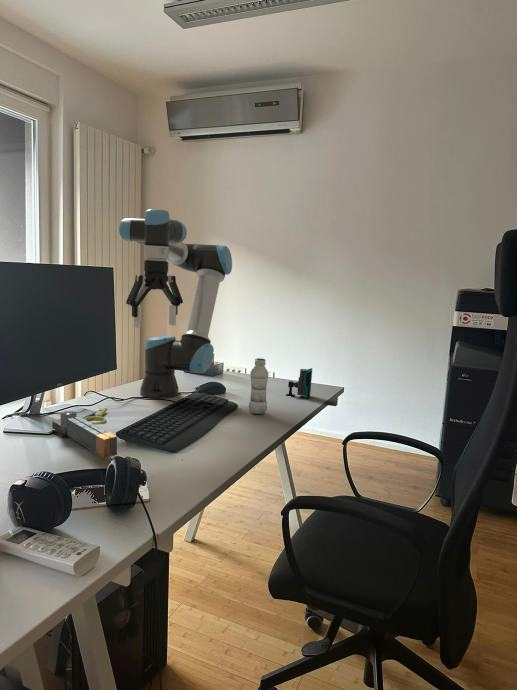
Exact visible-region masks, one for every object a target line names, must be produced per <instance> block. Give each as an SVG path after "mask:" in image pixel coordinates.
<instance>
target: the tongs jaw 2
mask: <svg viewBox="0 0 517 690" xmlns="http://www.w3.org/2000/svg"><path fill="white" fill-rule="evenodd" d="M74 419H76V420H78V421H79V422H81V423H83V424H85V425H87V426H88V427H90V428H92V429H94V430H96V431H97V432H99V433H101V434H104V435H106V436H107V437H109V438H110V457H114V456H117V455H118V436H117V435H116V434H114V433H112V432H110V431H107V430H105V429H104V428H101V427H99V426H98V425H97V424H92V423H90V422H91V421H90V420H85V419H84V417H82V416H77V417H74Z"/></svg>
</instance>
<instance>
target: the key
mask: <svg viewBox="0 0 517 690" xmlns="http://www.w3.org/2000/svg"><path fill="white" fill-rule="evenodd" d="M98 411H99V413H97V414H95V415H91V416H86V417H83V419H85V420H87V421H89V422H90V423H92V424H94V425H101V424H105V423H107V419H106V418H105V417H104V416H103V415H104V414H106V412H108V408H107V407H104V408H98ZM91 420H92V421H91ZM93 420H94V421H95V420H97V421H95V422H94V421H93Z"/></svg>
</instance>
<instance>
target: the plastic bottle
mask: <svg viewBox="0 0 517 690" xmlns="http://www.w3.org/2000/svg"><path fill="white" fill-rule="evenodd" d="M254 359H255V360H254V367H253V368H251V370H250V372H249V375H250V376H249V377H250V391H251V392H250V397H249V402H248V410H249V412H250V413H251V414H255V415H263V414H265V413H266V412H267V410H268V403H267V402H268V401H267V386H268V379H269V376H270V375H269V371H268V369H267V368H266V364H267V363H266V361H267V360H266V359H265V358H257V357H256V358H254Z"/></svg>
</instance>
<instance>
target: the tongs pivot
mask: <svg viewBox="0 0 517 690" xmlns="http://www.w3.org/2000/svg"><path fill="white" fill-rule="evenodd" d="M74 417H78V416H77V411H74V410H67V411H62V412H61V413H60V419H59V418H58V419H53V420H52V421H51V422H52V423H51V424H52V426H51V428H53V429H55V431H56V432H55V431H54V432H55V433H56V434H58V435H60V438H61V439H72V438H71V437H69V436H68V435H67V419H69V418H74Z"/></svg>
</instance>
